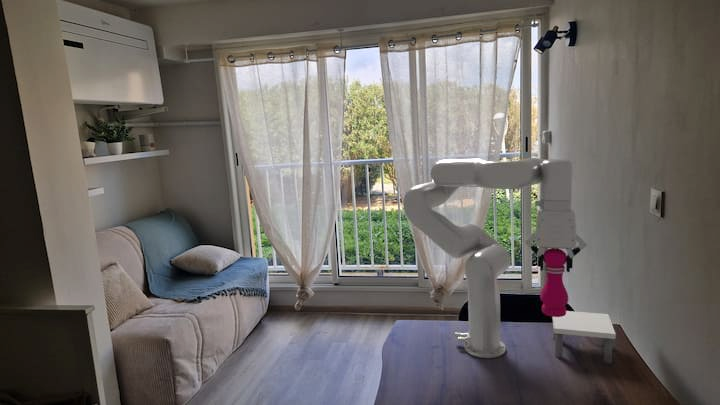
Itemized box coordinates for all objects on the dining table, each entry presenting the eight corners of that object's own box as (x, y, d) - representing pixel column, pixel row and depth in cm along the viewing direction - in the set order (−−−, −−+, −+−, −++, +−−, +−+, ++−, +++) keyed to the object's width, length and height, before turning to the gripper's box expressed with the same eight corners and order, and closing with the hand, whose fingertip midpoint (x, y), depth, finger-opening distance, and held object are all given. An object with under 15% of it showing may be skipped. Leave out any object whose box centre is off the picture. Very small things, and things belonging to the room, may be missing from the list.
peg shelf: (553, 358, 136) (554, 328, 135) (551, 337, 149) (552, 309, 148) (614, 365, 131) (615, 334, 129) (607, 342, 144) (608, 314, 142)
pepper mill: (570, 318, 124) (572, 246, 120) (542, 317, 125) (543, 246, 122) (565, 307, 131) (566, 239, 127) (538, 307, 132) (539, 239, 129)
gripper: (521, 207, 123) (520, 272, 126) (593, 208, 116) (591, 276, 119) (522, 202, 130) (522, 263, 133) (590, 203, 123) (588, 267, 126)
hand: (554, 269), depth 126 cm, fingers closed on pepper mill, 6 cm apart
